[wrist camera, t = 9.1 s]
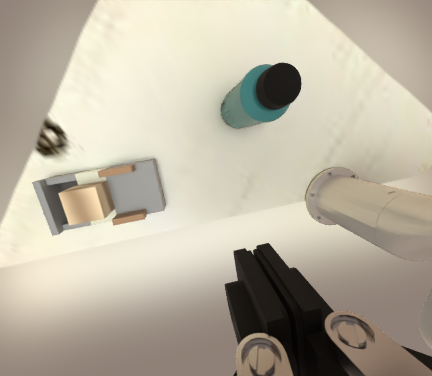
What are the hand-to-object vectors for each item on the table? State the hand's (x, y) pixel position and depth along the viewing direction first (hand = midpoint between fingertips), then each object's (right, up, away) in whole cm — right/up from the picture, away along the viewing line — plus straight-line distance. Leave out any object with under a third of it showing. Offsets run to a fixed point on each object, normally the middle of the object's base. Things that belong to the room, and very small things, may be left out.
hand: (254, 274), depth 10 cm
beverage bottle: (+2, +18, +30) cm, 35 cm away
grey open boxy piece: (-21, +3, +29) cm, 36 cm away
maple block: (-22, +2, +26) cm, 34 cm away
